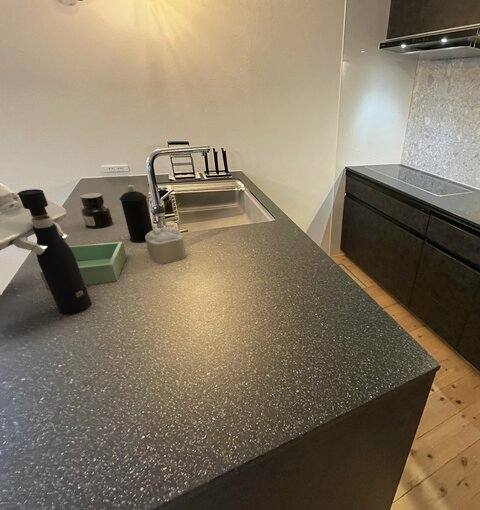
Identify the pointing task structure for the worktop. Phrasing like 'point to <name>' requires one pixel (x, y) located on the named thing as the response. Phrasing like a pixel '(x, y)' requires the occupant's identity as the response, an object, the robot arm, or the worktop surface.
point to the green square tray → (98, 262)
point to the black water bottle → (56, 257)
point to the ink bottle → (95, 211)
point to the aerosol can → (136, 214)
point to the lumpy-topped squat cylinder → (165, 245)
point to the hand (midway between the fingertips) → (55, 245)
